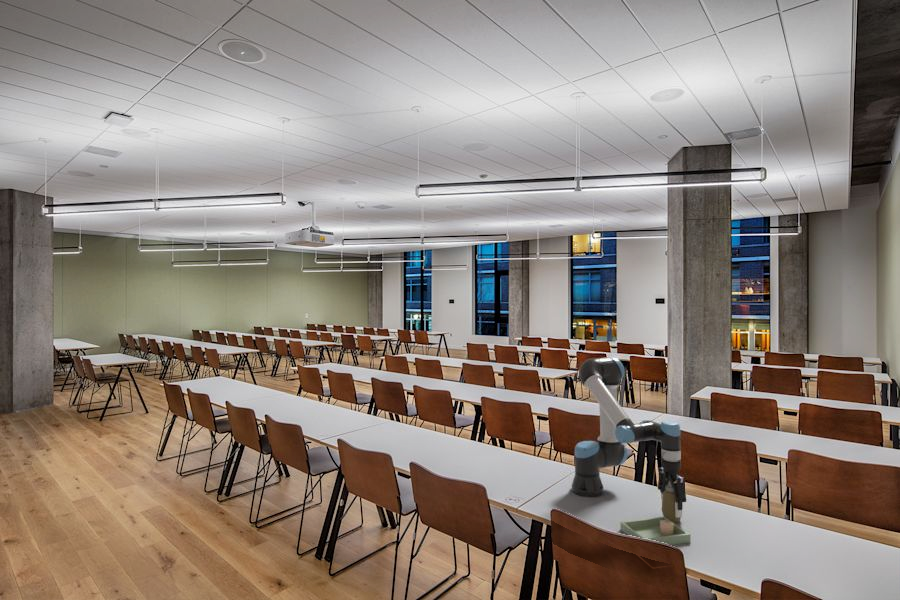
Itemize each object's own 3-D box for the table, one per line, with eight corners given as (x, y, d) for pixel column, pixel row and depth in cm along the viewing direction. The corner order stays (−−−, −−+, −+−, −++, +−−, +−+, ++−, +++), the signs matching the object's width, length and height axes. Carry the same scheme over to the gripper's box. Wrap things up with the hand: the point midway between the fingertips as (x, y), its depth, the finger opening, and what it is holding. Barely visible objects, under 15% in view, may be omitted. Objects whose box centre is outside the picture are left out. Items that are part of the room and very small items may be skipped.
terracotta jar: (657, 531, 198) (657, 520, 198) (668, 530, 199) (668, 519, 199) (665, 537, 193) (665, 525, 193) (676, 536, 194) (676, 524, 194)
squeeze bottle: (670, 525, 204) (669, 482, 204) (657, 517, 212) (656, 475, 212) (686, 523, 206) (686, 480, 206) (673, 515, 214) (672, 473, 214)
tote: (620, 530, 201) (620, 521, 201) (664, 524, 205) (663, 516, 205) (644, 549, 185) (643, 540, 185) (690, 543, 189) (690, 534, 189)
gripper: (648, 452, 218) (649, 503, 218) (679, 467, 198) (680, 524, 198) (663, 451, 220) (663, 501, 220) (695, 466, 200) (696, 522, 200)
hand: (671, 512), depth 209 cm, fingers closed on squeeze bottle, 8 cm apart
